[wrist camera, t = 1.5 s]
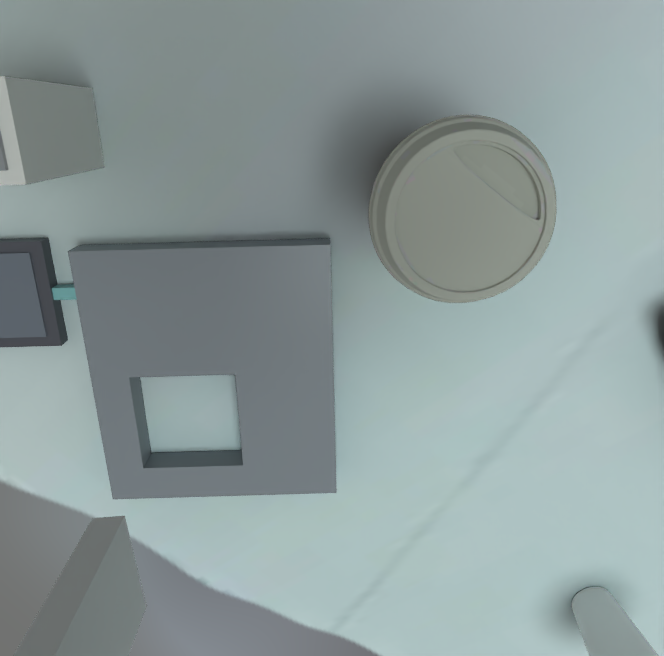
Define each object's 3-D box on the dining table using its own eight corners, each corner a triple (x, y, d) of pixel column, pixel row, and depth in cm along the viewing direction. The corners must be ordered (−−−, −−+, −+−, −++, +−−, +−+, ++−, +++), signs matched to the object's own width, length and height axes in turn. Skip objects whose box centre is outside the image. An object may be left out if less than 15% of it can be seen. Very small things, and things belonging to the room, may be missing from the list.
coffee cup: (507, 227, 37) (589, 274, 26) (382, 274, 38) (408, 339, 27) (470, 93, 34) (543, 81, 23) (336, 147, 35) (343, 160, 24)
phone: (-141, 242, 37) (-155, 246, 36) (173, 234, 37) (169, 238, 36) (-110, 344, 39) (-122, 351, 38) (185, 336, 39) (181, 343, 38)
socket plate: (80, 244, 37) (67, 251, 35) (329, 238, 37) (330, 244, 35) (122, 482, 43) (113, 499, 41) (335, 476, 43) (336, 492, 41)
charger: (15, 90, 34) (-107, 78, 24) (92, 88, 34) (1, 75, 24) (30, 169, 35) (-78, 187, 26) (104, 167, 35) (23, 185, 26)
